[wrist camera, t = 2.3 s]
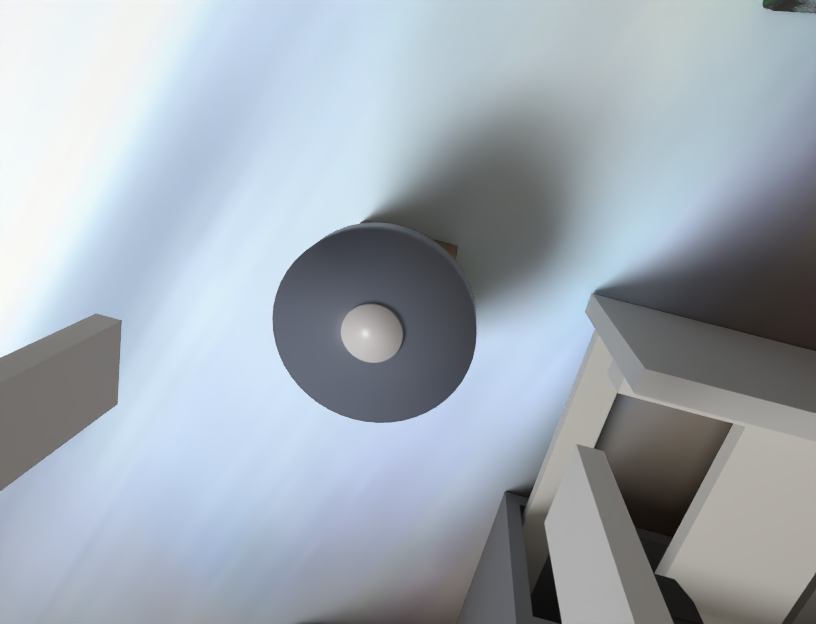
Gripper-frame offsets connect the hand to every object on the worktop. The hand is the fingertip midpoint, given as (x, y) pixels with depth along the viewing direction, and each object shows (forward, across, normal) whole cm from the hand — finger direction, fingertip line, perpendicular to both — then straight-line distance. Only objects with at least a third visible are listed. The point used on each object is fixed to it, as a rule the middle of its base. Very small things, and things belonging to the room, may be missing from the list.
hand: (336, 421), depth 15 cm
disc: (+8, 0, 0) cm, 8 cm away
